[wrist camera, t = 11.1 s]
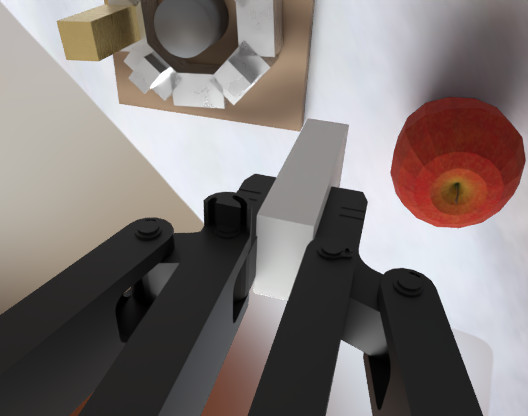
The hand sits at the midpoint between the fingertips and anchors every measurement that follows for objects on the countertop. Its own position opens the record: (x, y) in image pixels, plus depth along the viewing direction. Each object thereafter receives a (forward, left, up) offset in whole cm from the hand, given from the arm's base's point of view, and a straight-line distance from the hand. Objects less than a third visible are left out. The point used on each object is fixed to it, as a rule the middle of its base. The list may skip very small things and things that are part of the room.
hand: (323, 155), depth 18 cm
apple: (+10, +8, -30) cm, 32 cm away
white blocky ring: (+2, -16, -28) cm, 32 cm away
